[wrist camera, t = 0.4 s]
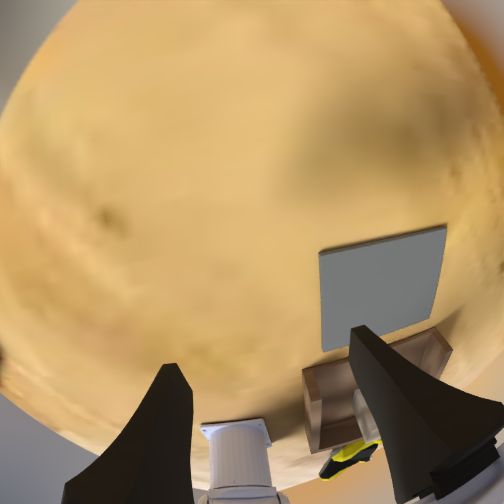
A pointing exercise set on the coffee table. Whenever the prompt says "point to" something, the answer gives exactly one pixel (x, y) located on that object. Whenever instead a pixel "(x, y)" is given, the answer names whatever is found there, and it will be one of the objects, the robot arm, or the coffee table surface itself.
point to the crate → (344, 385)
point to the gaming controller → (347, 457)
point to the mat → (379, 285)
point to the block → (364, 418)
